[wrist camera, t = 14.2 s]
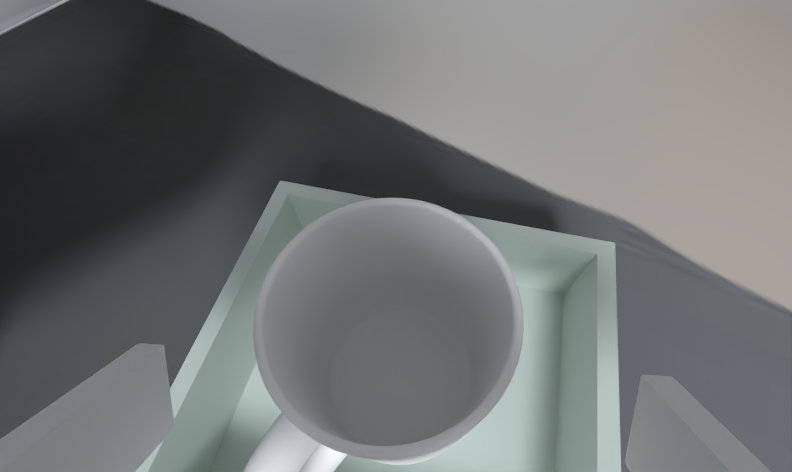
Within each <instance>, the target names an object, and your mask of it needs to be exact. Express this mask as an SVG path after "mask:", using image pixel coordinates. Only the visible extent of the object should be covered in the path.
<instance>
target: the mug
mask: <svg viewBox="0 0 792 472" xmlns="http://www.w3.org/2000/svg"><path fill="white" fill-rule="evenodd" d="M523 331H524V322H523V308H522V303H521V298H520V293H519V290H518V287H517V284H516V281H515V278H514V276H513V274H512V272H511V270H510V268H509V265H508V263H507V262H506V260H505V259H504V257H503V256H502V254H501V253H500V251H499V250H498V248H497V247H496V246H495V245H494V244H493V242H492V241H491V240H490V239H489V238H488V237H487V236H486V235H485V234H484V233H483V232H482V231H481V230H480V229H478V228H477V227H476V226H475V225H473V224H472V223H471V222H469V221H468V220H466V219H465V218H463V217H462V216H460V215H458V214H456V213H454V212H452V211H450V210H448V209H445V208H443V207H441V206H438V205H435V204H432V203H428V202H425V201H420V200H414V199H408V198H378V199H371V200H364V201H360V202H356V203H352V204H349V205H346V206H344V207H341V208H338V209H336V210H334V211H332V212H330V213H328V214H326V215H324V216H322V217H320V218H319V219H317V220H316V221H314V222H312V223H311V224H309V225H308V226H307V227H306V228H304V229H303V230H302V231H301V232H299V233H298V234H297V235H296V236H295V237H294V238H293V239H292V240H291V241H290V242H289V243H288V244H287V245H286V247H285V248H284V249H283V250H282V252H281V253H280V254H279V255H278V257H277V258H276V260H275V261H274V263H273V265H272V266H271V268H270V269H269V271H268V273H267V275H266V278H265V280H264V282H263V284H262V287H261V290H260V293H259V296H258V299H257V304H256V309H255V315H254V328H253V339H254V351H255V356H256V361H257V365H258V369H259V372H260V374H261V377H262V380H263V382H264V385H265V387H266V389H267V391H268V392H269V394H270V396H271V398H272V399H273V401H274V403H275V404H276V405H277V407H278V408H279V409H280V410H281V412H282V413H281V414H280V415H279V416H278V418H277V419H276V420H275V422H274V423H273V424H272V426H271V427H270V428H269V430H268V431H267V433H266V434H265V436H264V437H263V438H262V440H261V441H260V443H259V444H258V446H257V448H256V449H255V451H254V452H253V454H252V455H251V457H250V459H249V461H248V463H247V465H246V467H245V468H244V471H243V472H334V470H335V469H336V468H337V467H338V466H339V464H340V463H341V462H342V461H343V459H344V458H345V457H346V456H347V455H351V456H355V457H360V458H363V459H368V460H371V461H375V462H379V463H384V464H391V465H409V464H415V463H420V462H423V461H426V460H429V459H432V458H433V457H435V456H437V455H439V454H441V453H443V452H444V451H446V450H447V449H449V448H450V447H451V446H453V445H454V444H455V443H456V442H457V441H459V440H460V439H461V438H462V437H463V436H465V435H466V434H467V433H468V432H469V431H471V430H472V429H473V428H474V427H475V426H476V425H477V424H478V423H480V422H481V421H482V420H483V419H484V418H485V417H486V416H487V415H488V414H489V413H490V412H491V410H492V409H493V408H494V407H495V405H496V404H497V403H498V401H499V400H500V399H501V398H502V396H503V394H504V392H505V391H506V389H507V387H508V385H509V384H510V382H511V380H512V377H513V375H514V372H515V369H516V367H517V364H518V361H519V357H520V352H521V348H522V342H523Z"/></svg>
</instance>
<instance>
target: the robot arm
mask: <svg viewBox="0 0 792 472" xmlns="http://www.w3.org/2000/svg"><path fill="white" fill-rule="evenodd" d="M174 427H175V424H174V417H173V409H172V402H171V394H170V387H169V380H168V372H167V365H166V357H165V350H164V345H158V344H142V343H138V344H137V345H135V346H134V347H132V348H131V349H130V350H128V351H127V352H125V353H124V354H122V355H121V356H120V357H118V358H117V359H115V360H114V361H112V362H111V363H109V364H108V365H107V366H105V367H104V368H102V369H101V370H99V371H98V372H96V373H95V374H94V375H92V376H91V377H89V378H88V379H86V380H85V381H83V382H82V383H81V384H79V385H78V386H76V387H75V388H73V389H72V390H71V391H69V392H68V393H66V394H65V395H63V396H62V397H60V398H59V399H58V400H56V401H55V402H53V403H52V404H50V405H49V406H47V407H46V408H45V409H43V410H42V411H40V412H39V413H37V414H36V415H34V416H33V417H32V418H30V419H29V420H27V421H26V422H24V423H23V424H22V425H20V426H19V427H17V428H16V429H14V430H13V431H11V432H10V433H9V434H7V435H6V436H4V437H3V438H1V439H0V472H135V471H136V470H137V469H138V468H139V467H140V466H141V465H142V463H143V462H144V461H145V460H146V459H147V458H148V457H149V456H150V454H151V453H152V452H153V451H154V450H155V449H156V448H157V447H158V445H159V444H160V443H161V442H162V441H163V440H164V439H165V438H166V436H167V435H168V434H169V433H170V432H171V431H172V430H173V429H174ZM625 464H626V466H627V467H628V469H629V471H630V472H771V471H770V470H769V469H768V468H767V467H765V466H764V465H763V464H762V463H761V462H760V461H759V460H758V459H757V458H756V457H755V456H754V455H753V454H752V453H751V452H750V451H749V450H748V449H747V448H746V447H745V446H744V445H743V444H742V443H741V442H739V441H738V440H737V439H736V438H735V437H734V436H733V435H732V434H731V433H730V432H729V431H728V430H727V429H726V428H725V427H724V426H723V425H722V424H721V423H720V422H719V421H718V420H717V419H716V418H715V417H714V416H712V415H711V414H710V413H709V412H708V411H707V410H706V409H705V408H704V407H703V406H702V405H701V404H700V403H699V402H698V401H697V400H696V399H695V398H694V397H693V396H692V395H691V394H690V393H689V392H688V391H687V390H685V389H684V388H683V387H682V386H681V385H680V384H679V383H678V382H677V381H676V380H675V379H674V378H673V377H671V376H655V375H641V379H640V384H639V390H638V395H637V400H636V405H635V410H634V416H633V421H632V426H631V431H630V437H629V442H628V447H627V452H626V457H625Z"/></svg>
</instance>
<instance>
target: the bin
mask: <svg viewBox="0 0 792 472" xmlns="http://www.w3.org/2000/svg"><path fill="white" fill-rule="evenodd" d="M371 199H377V198H371V197H366V196H360V195H355V194H350V193H344V192H339V191H334V190H328V189H323V188H318V187H312V186H307V185H302V184H296V183H291V182H285V181H280V182H279V184H278V185H277V187H276V189H275V191H274V193H273V195H272V197H271V199H270V201H269V202H268V204H267V206H266V208H265V210H264V212H263V214H262V216H261V218H260V220H259V221H258V223H257V225H256V227H255V229H254V231H253V233H252V235H251V237H250V238H249V240H248V242H247V244H246V246H245V248H244V250H243V252H242V254H241V256H240V257H239V259H238V261H237V263H236V265H235V267H234V269H233V271H232V273H231V274H230V276H229V278H228V280H227V282H226V284H225V286H224V288H223V290H222V291H221V293H220V295H219V297H218V299H217V301H216V303H215V305H214V307H213V309H212V310H211V312H210V314H209V316H208V318H207V320H206V322H205V324H204V326H203V327H202V329H201V331H200V333H199V335H198V337H197V339H196V341H195V343H194V345H193V346H192V348H191V350H190V352H189V354H188V356H187V358H186V360H185V362H184V363H183V365H182V367H181V369H180V371H179V373H178V375H177V377H176V379H175V381H174V382H173V384H172V386H171V388H170V394H171V402H172V409H173V417H174V424H175V427H174V429H173V430H172V431H171V432H170V433H169V434H168V435H167V436H166V438H165V439H164V440H163V441H162V442H161V443H160V444H159V445H158V447H157V448H156V449H155V450H154V451H153V452H152V453H151V454H150V456H149V457H148V458H147V459H146V460H145V461H144V462H143V463H142V465H141V466H140V467H139V468H138V469H137V470H136V471H135V472H243V471H244V468H245V467H246V465H247V463H248V461H249V459H250V457H251V455H252V454H253V452H254V451H255V449H256V448H257V446H258V444H259V443H260V441H261V440H262V438H263V437H264V436H265V434H266V433H267V431H268V430H269V428H270V427H271V426H272V424H273V423H274V422H275V420H276V419H277V418H278V416H279V415H280V414H281V413H282V412H281V410H280V409H279V408H278V407H277V405H276V404H275V403H274V401H273V399H272V398H271V396H270V394H269V392H268V391H267V389H266V387H265V385H264V382H263V380H262V377H261V374H260V372H259V369H258V365H257V361H256V356H255V351H254V339H253V328H254V315H255V309H256V304H257V299H258V296H259V293H260V290H261V287H262V284H263V282H264V280H265V278H266V275H267V273H268V271H269V269H270V268H271V266H272V265H273V263H274V261H275V260H276V258H277V257H278V255H279V254H280V253H281V252H282V250H283V249H284V248H285V247H286V245H287V244H288V243H289V242H290V241H291V240H292V239H293V238H294V237H295V236H296V235H297V234H298V233H299V232H301V231H302V230H303V229H304V228H306V227H307V226H308V225H309V224H311V223H312V222H314V221H316V220H317V219H319V218H320V217H322V216H324V215H326V214H328V213H330V212H332V211H334V210H336V209H338V208H341V207H344V206H346V205H349V204H352V203H356V202H360V201H364V200H371ZM456 214H457V213H456ZM458 215H460V216H462V217H463V218H465V219H466V220H468V221H469V222H471V223H472V224H473V225H475V226H476V227H477V228H478V229H480V230H481V231H482V232H483V233H484V234H485V235H486V236H487V237H488V238H489V239H490V240H491V241H492V242H493V244H494V245H495V246H496V247H497V248H498V250H499V251H500V253H501V254H502V256H503V257H504V259H505V260H506V262H507V263H508V265H509V268H510V270H511V272H512V274H513V276H514V278H515V281H516V284H517V287H518V290H519V293H520V298H521V303H522V308H523V322H524V331H523V342H522V348H521V352H520V357H519V361H518V364H517V367H516V369H515V372H514V375H513V377H512V380H511V382H510V384H509V385H508V387H507V389H506V391H505V392H504V394H503V396H502V398H501V399H500V400H499V401H498V403H497V404H496V405H495V407H494V408H493V409H492V410H491V412H490V413H489V414H488V415H487V416H486V417H485V418H484V419H483V420H482V421H481V422H480V423H478V424H477V425H476V426H475V427H474V428H473V429H472V430H471V431H469V432H468V433H467V434H466V435H465V436H463V437H462V438H461V439H460V440H459V441H457V442H456V443H455V444H454V445H453V446H451V447H450V448H449V449H447V450H446V451H444V452H443V453H441V454H439V455H437V456H435V457H433V458H432V459H429V460H426V461H423V462H420V463H415V464H409V465H391V464H384V463H379V462H375V461H371V460H368V459H363V458H360V457H355V456H351V455H347V456H346V457H345V458H344V459H343V461H342V462H341V463H340V464H339V466H338V467H337V468H336V469H335V470H334V472H621V451H620V414H619V376H618V339H617V302H616V264H615V243H612V242H607V241H602V240H596V239H591V238H585V237H580V236H575V235H569V234H564V233H559V232H553V231H548V230H543V229H537V228H532V227H527V226H521V225H516V224H510V223H505V222H500V221H494V220H489V219H484V218H478V217H473V216H468V215H462V214H458Z"/></svg>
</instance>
